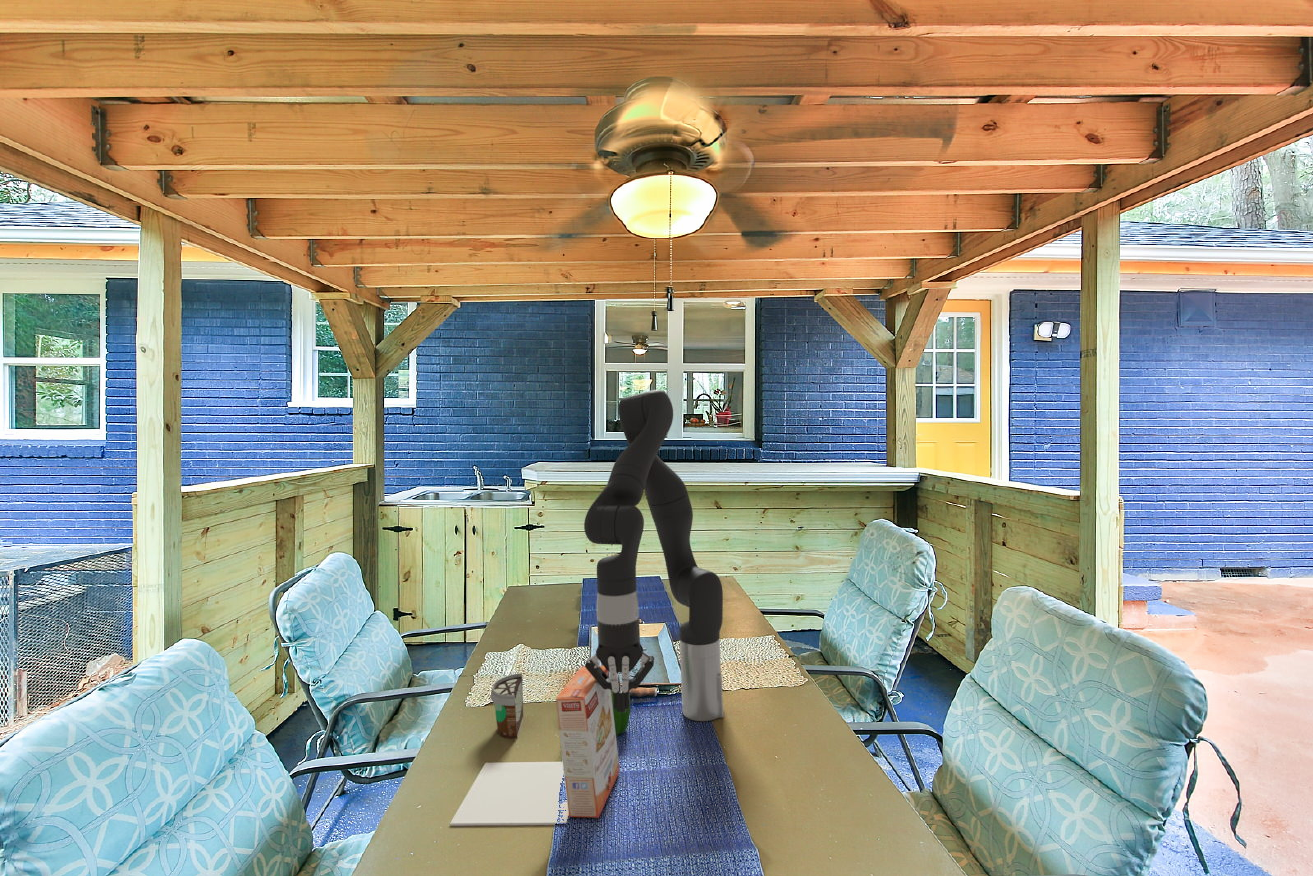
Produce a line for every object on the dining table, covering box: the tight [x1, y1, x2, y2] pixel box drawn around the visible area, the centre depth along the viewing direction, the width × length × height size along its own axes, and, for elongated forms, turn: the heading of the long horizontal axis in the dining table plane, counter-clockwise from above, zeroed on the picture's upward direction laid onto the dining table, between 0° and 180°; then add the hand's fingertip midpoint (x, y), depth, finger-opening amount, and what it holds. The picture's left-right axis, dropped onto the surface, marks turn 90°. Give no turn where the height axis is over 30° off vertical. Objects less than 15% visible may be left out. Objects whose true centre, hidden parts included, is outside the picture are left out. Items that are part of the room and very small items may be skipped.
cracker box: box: [555, 664, 621, 819], centre depth 108 cm, size 14×6×21 cm, turn 168°
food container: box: [489, 672, 524, 740], centre depth 133 cm, size 12×6×10 cm, turn 5°
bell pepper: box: [611, 690, 632, 737], centre depth 130 cm, size 8×8×10 cm
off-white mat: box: [449, 761, 569, 827], centre depth 110 cm, size 20×18×1 cm
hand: (621, 710), depth 107 cm, fingers closed
